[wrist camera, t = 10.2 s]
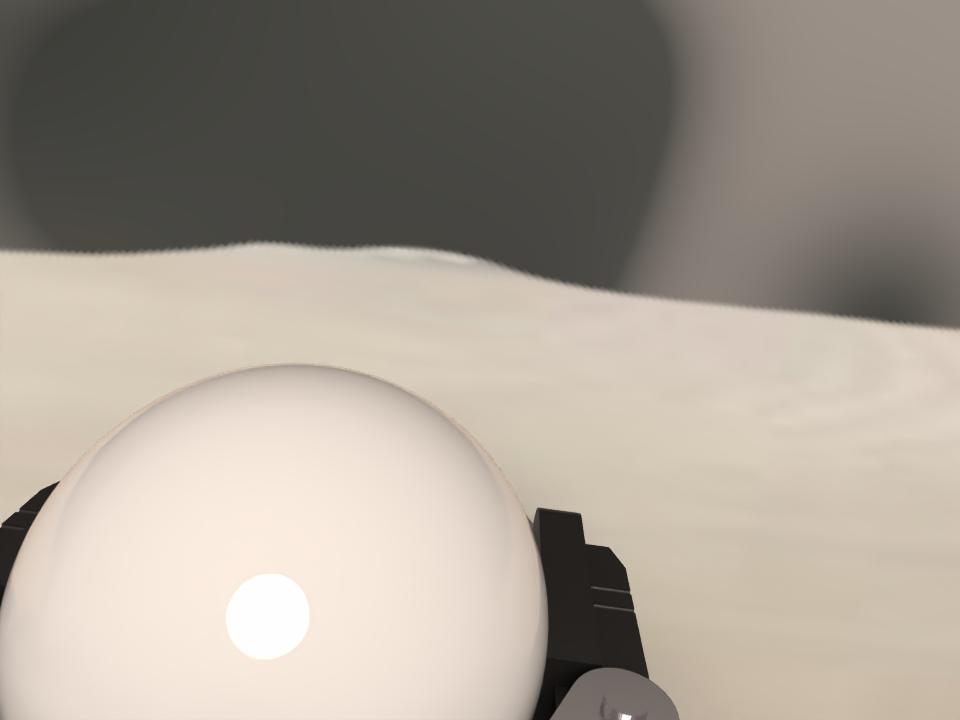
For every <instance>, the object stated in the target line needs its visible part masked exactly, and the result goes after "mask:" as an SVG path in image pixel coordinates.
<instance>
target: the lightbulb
mask: <svg viewBox="0 0 960 720" xmlns="http://www.w3.org/2000/svg"><path fill="white" fill-rule="evenodd" d="M548 633H549V615H548V599H547V589H546V582H545V576H544V570H543V565H542V561H541V557H540V553H539V549H538V546H537V542H536V539H535V536H534V533H533V531H532V528H531V525H530V523H529V520H528V518H527V515H526V513H525V511H524V509H523V507H522V505H521V503H520V501H519V499H518V497H517V495H516V493H515V492H514V490H513V488H512V486H511V485H510V483H509V481H508V480H507V478H506V477H505V475H504V474H503V472H502V471H501V469H500V468H499V467H498V465H497V464H496V462H495V461H494V460H493V459H492V457H491V456H490V455H489V454H488V452H487V451H486V450H485V449H484V448H483V447H482V445H481V444H480V443H479V442H478V441H477V440H476V439H475V438H474V437H473V436H472V435H471V434H470V433H469V432H468V431H467V430H466V429H465V428H464V427H463V426H461V425H460V424H459V423H458V422H457V421H456V420H454V419H453V418H452V417H451V416H449V415H448V414H447V413H445V412H444V411H443V410H441V409H440V408H438V407H437V406H435V405H434V404H432V403H431V402H429V401H427V400H426V399H424V398H422V397H421V396H419V395H417V394H415V393H413V392H412V391H410V390H408V389H406V388H404V387H401V386H399V385H397V384H395V383H392V382H390V381H387V380H385V379H382V378H379V377H376V376H373V375H370V374H367V373H363V372H360V371H356V370H352V369H347V368H342V367H336V366H330V365H322V364H309V363H281V364H267V365H259V366H252V367H246V368H241V369H236V370H231V371H227V372H223V373H220V374H216V375H213V376H210V377H207V378H204V379H201V380H198V381H195V382H193V383H190V384H188V385H185V386H183V387H181V388H178V389H176V390H174V391H172V392H170V393H168V394H166V395H164V396H162V397H160V398H158V399H156V400H155V401H153V402H151V403H149V404H148V405H146V406H144V407H143V408H141V409H140V410H138V411H137V412H135V413H133V414H132V415H130V416H129V417H128V418H126V419H125V420H123V421H122V422H121V423H119V424H118V425H117V426H116V427H114V428H113V429H112V430H110V431H109V432H108V433H107V434H106V435H104V436H103V437H102V438H101V439H100V440H99V441H98V442H97V443H95V444H94V445H93V446H92V447H91V448H90V449H89V450H88V451H87V452H86V453H85V454H84V455H83V456H82V457H81V458H80V459H79V460H78V461H77V463H76V464H75V465H74V466H73V467H72V468H71V469H70V470H69V472H68V473H67V474H66V475H65V476H64V478H63V479H62V480H61V481H60V483H59V484H58V485H57V486H56V488H55V489H54V490H53V492H52V493H51V495H50V496H49V498H48V499H47V500H46V502H45V503H44V505H43V506H42V508H41V510H40V511H39V513H38V514H37V516H36V518H35V520H34V521H33V523H32V525H31V527H30V528H29V530H28V532H27V534H26V536H25V538H24V540H23V542H22V545H21V547H20V549H19V551H18V554H17V556H16V558H15V561H14V563H13V566H12V569H11V572H10V574H9V577H8V581H7V584H6V587H5V590H4V594H3V598H2V601H1V606H0V720H533V717H534V714H535V711H536V707H537V704H538V700H539V697H540V692H541V688H542V684H543V678H544V673H545V667H546V658H547V649H548Z"/></svg>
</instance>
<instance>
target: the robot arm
mask: <svg viewBox="0 0 960 720" xmlns="http://www.w3.org/2000/svg"><path fill="white" fill-rule="evenodd" d="M59 483H60V481H59V482H57V483H55V484H52V485H50V486H48V487H46V488H44V489H42V490H40V491H39V492H38V493H37V494H36V495H35V496H33V497H32V498H31V499H30V500H29V501H28V502H26V503H25V504H24V505H23V506H22V507H21V508H20V510H19V512H15V513H14V514H13V515H11V516H10V517H9V518H8V519H7V520H6V521H5V522H3V523H2V527H1V528H0V606H1V601H2V598H3V594H4V590H5V587H6V584H7V581H8V577H9V574H10V572H11V569H12V566H13V563H14V561H15V558H16V556H17V554H18V551H19V549H20V547H21V545H22V542H23V540H24V538H25V536H26V534H27V532H28V530H29V528H30V527H31V525H32V523H33V521H34V520H35V518H36V516H37V514H38V513H39V511H40V510H41V508H42V506H43V505H44V503H45V502H46V500H47V499H48V498H49V496H50V495H51V493H52V492H53V490H54V489H55V488H56V486H57V485H58V484H59ZM532 531H533V533H534V536H535V539H536V542H537V546H538V549H539V553H540V557H541V561H542V565H543V570H544V576H545V582H546V589H547V599H548V615H549V633H548V649H547V658H546V667H545V673H544V678H543V684H542V688H541V692H540V697H539V700H538V704H537V707H536V711H535V714H534V717H533V720H679V715H678V712H677V709H676V707H675V705H674V704H673V702H672V700H671V699H670V698H669V696H668V695H667V694H666V693H665V692H664V691H663V690H662V689H661V688H660V687H659V686H658V685H656V684H655V683H653V682H652V681H651V680H649V675H648V671H647V666H646V661H645V657H644V652H643V647H642V643H641V638H640V633H639V629H638V624H637V619H636V615H635V613H634V605H633V601H632V596H631V594H630V587H629V582H628V577H627V573H626V568H625V567H624V566H623V564H622V563H621V562H620V561H619V559H618V558H617V557H616V555H615V554H614V553H613V552H612V550H611V549H610V548H609V547H603V546H596V545H589V544H585V539H584V531H583V524H582V517H581V514H580V513H575V512H567V511H560V510H552V509H545V508H537V510H536V514H535V518H534V524H533V529H532Z"/></svg>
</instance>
